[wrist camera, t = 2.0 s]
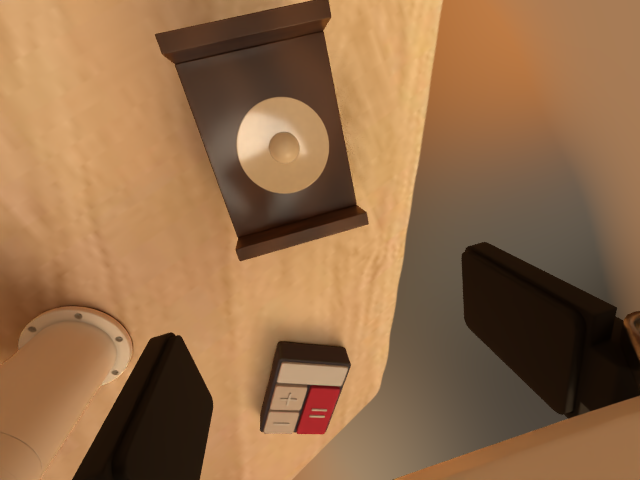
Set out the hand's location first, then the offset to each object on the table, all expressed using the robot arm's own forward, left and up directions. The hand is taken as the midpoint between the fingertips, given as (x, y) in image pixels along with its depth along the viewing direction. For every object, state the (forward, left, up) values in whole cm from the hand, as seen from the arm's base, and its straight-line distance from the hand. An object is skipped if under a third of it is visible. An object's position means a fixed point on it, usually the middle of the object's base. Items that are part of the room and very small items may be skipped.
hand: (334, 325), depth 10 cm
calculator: (-6, -32, -30) cm, 44 cm away
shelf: (0, +5, -30) cm, 30 cm away
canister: (0, +5, -20) cm, 20 cm away
